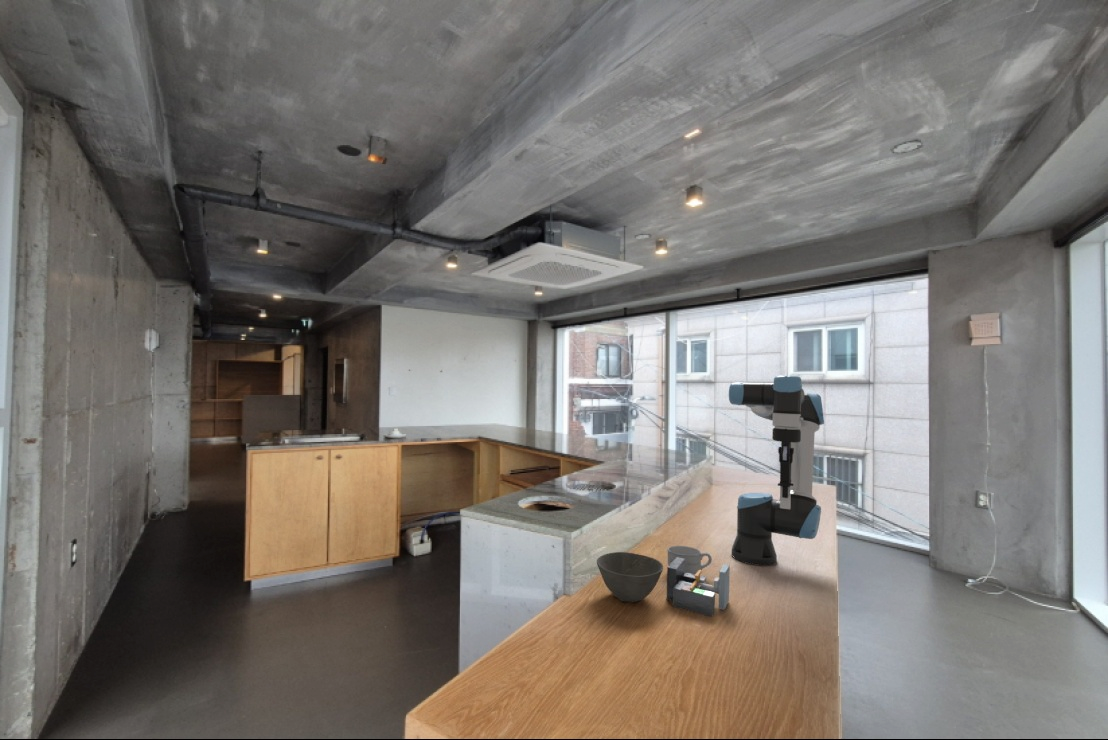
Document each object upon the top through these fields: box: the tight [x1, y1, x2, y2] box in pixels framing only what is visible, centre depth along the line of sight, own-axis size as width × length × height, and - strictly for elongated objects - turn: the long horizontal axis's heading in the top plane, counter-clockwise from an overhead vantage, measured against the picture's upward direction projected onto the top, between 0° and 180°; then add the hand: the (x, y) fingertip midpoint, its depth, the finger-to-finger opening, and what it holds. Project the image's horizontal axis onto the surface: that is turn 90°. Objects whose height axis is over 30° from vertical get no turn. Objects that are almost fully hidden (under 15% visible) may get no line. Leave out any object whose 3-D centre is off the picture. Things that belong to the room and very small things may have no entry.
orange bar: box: [690, 569, 703, 590], centre depth 132 cm, size 11×1×2 cm, turn 150°
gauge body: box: [666, 557, 716, 618], centre depth 133 cm, size 14×13×9 cm
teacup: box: [666, 545, 713, 574], centre depth 153 cm, size 14×11×8 cm
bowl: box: [596, 551, 664, 603], centre depth 134 cm, size 19×19×10 cm
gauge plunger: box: [697, 563, 731, 611], centre depth 133 cm, size 7×8×10 cm
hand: (785, 508), depth 138 cm, fingers closed
